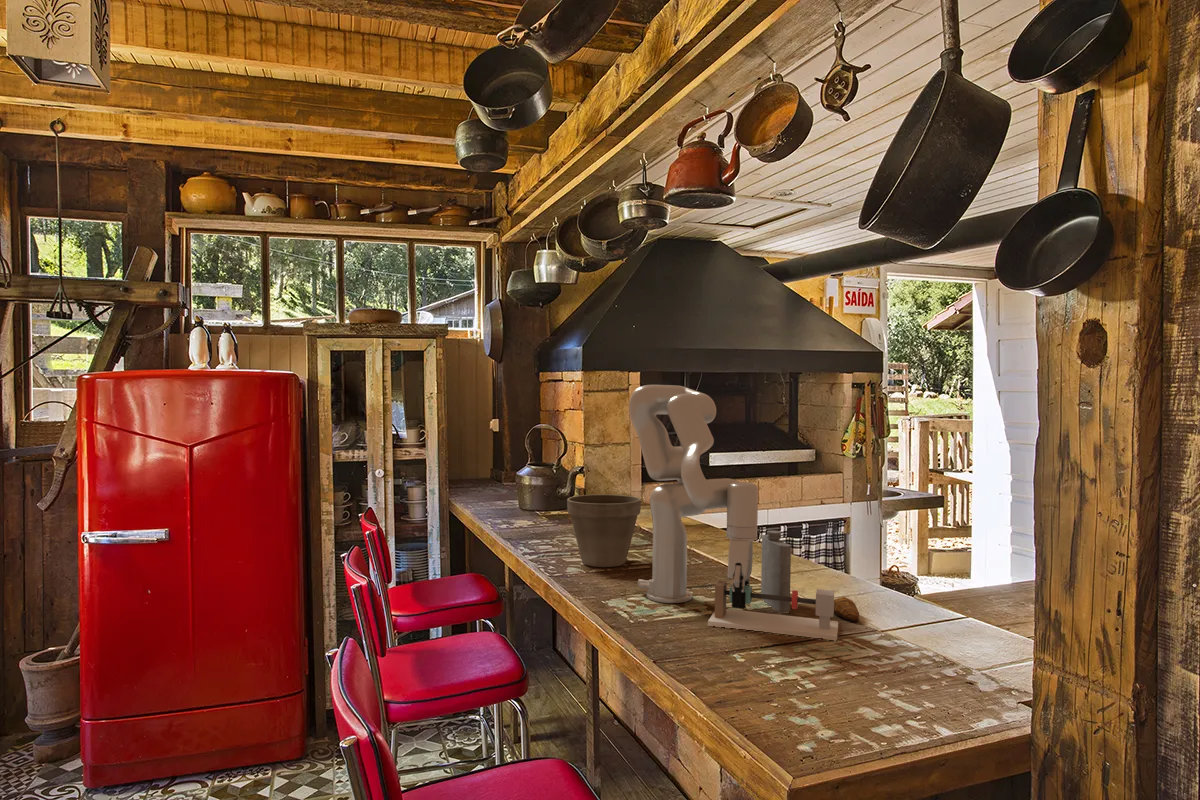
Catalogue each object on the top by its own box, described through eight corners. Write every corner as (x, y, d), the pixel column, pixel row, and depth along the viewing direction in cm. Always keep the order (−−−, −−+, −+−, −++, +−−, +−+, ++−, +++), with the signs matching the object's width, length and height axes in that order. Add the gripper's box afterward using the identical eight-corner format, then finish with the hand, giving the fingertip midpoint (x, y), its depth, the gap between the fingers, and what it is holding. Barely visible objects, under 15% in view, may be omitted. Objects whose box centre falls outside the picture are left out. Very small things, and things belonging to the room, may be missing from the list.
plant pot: (555, 557, 250) (556, 494, 250) (619, 552, 260) (620, 491, 260) (584, 574, 227) (585, 505, 227) (653, 567, 238) (654, 501, 238)
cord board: (707, 625, 178) (708, 587, 178) (716, 612, 189) (717, 575, 189) (836, 641, 168) (837, 600, 168) (838, 626, 179) (838, 587, 179)
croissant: (820, 608, 194) (820, 589, 194) (844, 608, 195) (844, 589, 195) (842, 624, 181) (842, 604, 181) (868, 623, 182) (868, 603, 182)
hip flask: (791, 613, 189) (793, 536, 189) (776, 613, 189) (778, 536, 189) (770, 596, 205) (771, 525, 205) (756, 596, 205) (757, 525, 204)
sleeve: (729, 602, 180) (729, 587, 180) (731, 598, 183) (732, 584, 183) (749, 604, 178) (750, 589, 178) (751, 600, 182) (752, 586, 182)
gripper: (732, 525, 190) (731, 593, 190) (720, 537, 174) (719, 611, 174) (761, 527, 188) (760, 596, 188) (752, 539, 171) (751, 615, 172)
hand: (740, 603), depth 181 cm, fingers open, 6 cm apart
